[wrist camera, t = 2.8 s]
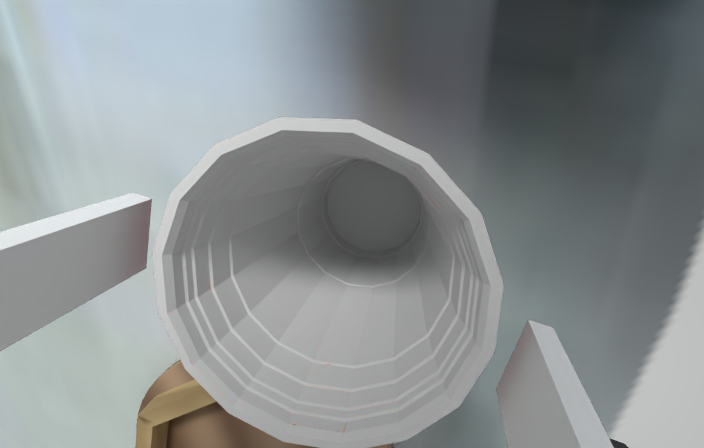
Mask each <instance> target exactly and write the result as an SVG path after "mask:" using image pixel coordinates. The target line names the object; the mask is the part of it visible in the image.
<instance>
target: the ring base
mask: <svg viewBox="0 0 704 448" xmlns="http://www.w3.org/2000/svg"><path fill="white" fill-rule="evenodd" d="M136 448H318V447H312V446H306V445H299V444H293V443H287V442H283V441H281V440H279V439H277V438H275V437H273V436H271V435H269V434H267V433H266V432H264V431H262V430H260V429H258V428H256V427H254V426H252V425H250V424H248V423H246V422H244V421H242V420H241V419H239V418H237V417H235V416H233V415H231V414H229V413H228V412H227V411H226V410H225V409H224V408H223V407H222V406H221V405H220V404H219V403H218V402H217V401H216V400H215V399H214V398H213V397H212V396H211V395H210V394H209V393H208V392H207V391H206V390H205V389H204V388H203V387H202V386H201V385H200V384H199V383H198V382H197V381H196V380H195V379H194V378H193V377H192V376H191V375H190V374H189V373H188V372H187V371H186V370H185V368H184V366H183V364H182V362H181V360H179V361H177V362H176V363H175V364H173V365H172V366H171V367H170V368H168V369H167V370H166V371H165V372H164V373H163V374H162V375H161V376H160V377H159V378H158V379H157V380H156V381H155V382H154V384H153V385H152V386H151V387H150V388H149V390H148V392H147V393H146V395H145V397H144V399H143V401H142V404H141V406H140V409H139V412H138V419H137V434H136ZM369 448H393V447H392V445H391V444H385V445H380V446H375V447H369Z"/></svg>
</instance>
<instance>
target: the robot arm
mask: <svg viewBox="0 0 704 448" xmlns="http://www.w3.org/2000/svg"><path fill="white" fill-rule="evenodd" d="M151 202H152V199H150V198H147V197H144V196H141V195H138V194H135V193H129V194H126V195H123V196H119V197H116V198H113V199H109V200H106V201H103V202H99V203H96V204H92V205H89V206H86V207H82V208H79V209H76V210H72V211H69V212H66V213H62V214H59V215H55V216H52V217H49V218H45V219H42V220H39V221H35V222H32V223H29V224H25V225H22V226H18V227H15V228H12V229H8V230H5V231H2V232H0V351H2V350H3V349H5V348H7V347H9V346H10V345H12V344H14V343H16V342H17V341H19V340H21V339H23V338H24V337H26V336H28V335H30V334H31V333H33V332H35V331H37V330H38V329H40V328H42V327H44V326H45V325H47V324H49V323H51V322H52V321H54V320H56V319H58V318H59V317H61V316H63V315H65V314H66V313H68V312H70V311H72V310H74V309H75V308H77V307H79V306H81V305H82V304H84V303H86V302H88V301H89V300H91V299H93V298H95V297H96V296H98V295H100V294H102V293H103V292H105V291H107V290H109V289H110V288H112V287H114V286H116V285H117V284H119V283H121V282H123V281H124V280H126V279H128V278H130V277H131V276H133V275H135V274H137V273H138V272H140V271H142V270H144V269H146V264H147V251H148V239H149V226H150V214H151ZM496 390H497V395H498V400H499V405H500V410H501V415H502V420H503V425H504V430H505V435H506V440H507V445H508V448H628V447H627V446H626V445H625V444H624V443H621V442H618V441H615V440H612V439H609V437H608V435H607V433H606V431H605V429H604V427H603V425H602V423H601V421H600V419H599V417H598V415H597V413H596V411H595V409H594V407H593V405H592V403H591V401H590V399H589V397H588V396H587V394H586V392H585V390H584V388H583V386H582V384H581V382H580V380H579V378H578V376H577V374H576V372H575V370H574V368H573V366H572V364H571V362H570V360H569V358H568V356H567V354H566V352H565V350H564V348H563V346H562V344H561V342H560V340H559V338H558V336H557V334H556V332H555V330H554V328H553V327H549V326H546V325H543V324H540V323H537V322H534V321H531V320H528V321H527V323H526V326H525V328H524V330H523V332H522V334H521V336H520V339H519V341H518V343H517V345H516V347H515V349H514V351H513V354H512V356H511V358H510V360H509V362H508V364H507V366H506V369H505V371H504V373H503V375H502V377H501V379H500V381H499V384H498V386H497V388H496Z"/></svg>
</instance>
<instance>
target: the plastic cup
mask: <svg viewBox="0 0 704 448" xmlns="http://www.w3.org/2000/svg"><path fill="white" fill-rule="evenodd" d="M152 257H153V267H154V278H155V288H156V299H157V309H158V315H159V317H160V319H161V321H162V323H163V325H164V327H165V329H166V331H167V333H168V335H169V337H170V339H171V342H172V344H173V346H174V348H175V350H176V352H177V354H178V356H179V358H180V360H181V362H182V364H183V366H184V368H185V370H186V371H187V372H188V373H189V374H190V375H191V376H192V377H193V378H194V379H195V380H196V381H197V382H198V383H199V384H200V385H201V386H202V387H203V388H204V389H205V390H206V391H207V392H208V393H209V394H210V395H211V396H212V397H213V398H214V399H215V400H216V401H217V402H218V403H219V404H220V405H221V406H222V407H223V408H224V409H225V410H226V411H227V412H228V413H229V414H231V415H233V416H235V417H237V418H239V419H241V420H242V421H244V422H246V423H248V424H250V425H252V426H254V427H256V428H258V429H260V430H262V431H264V432H266V433H267V434H269V435H271V436H273V437H275V438H277V439H279V440H281V441H283V442H287V443H293V444H299V445H306V446H312V447H318V448H369V447H375V446H380V445H385V444H391V443H396V442H402V441H406V440H408V439H410V438H411V437H413V436H414V435H416V434H418V433H419V432H421V431H422V430H424V429H425V428H427V427H429V426H430V425H432V424H433V423H435V422H437V421H438V420H440V419H441V418H443V417H444V416H446V415H448V414H449V413H451V412H452V411H454V410H455V409H457V408H459V407H460V405H461V404H462V402H463V401H464V399H465V398H466V396H467V394H468V393H469V391H470V390H471V388H472V387H473V385H474V384H475V382H476V381H477V379H478V378H479V376H480V375H481V373H482V372H483V370H484V369H485V367H486V366H487V364H488V363H489V361H490V360H491V358H492V357H493V355H494V354H495V347H496V340H497V333H498V325H499V318H500V311H501V303H502V296H503V289H504V283H503V280H502V277H501V273H500V270H499V267H498V264H497V261H496V258H495V254H494V251H493V248H492V245H491V242H490V239H489V235H488V232H487V229H486V226H485V223H484V220H483V216H482V213H481V212H480V211H479V210H478V209H477V208H476V206H475V205H474V204H473V203H472V202H471V201H470V200H469V199H468V197H467V196H466V195H465V194H464V193H463V192H462V191H461V190H460V188H459V187H458V186H457V185H456V184H455V183H454V182H453V180H452V179H451V178H450V177H449V176H448V175H447V174H446V173H445V171H444V170H443V169H442V168H441V167H440V166H439V165H438V164H437V162H436V161H435V160H434V159H433V158H432V157H431V156H430V154H428V153H426V152H424V151H422V150H420V149H418V148H416V147H413V146H411V145H409V144H407V143H405V142H403V141H401V140H399V139H397V138H394V137H392V136H390V135H388V134H386V133H384V132H382V131H380V130H378V129H375V128H373V127H371V126H369V125H367V124H365V123H363V122H361V121H359V120H356V119H327V118H296V117H278V118H276V119H274V120H271V121H269V122H266V123H264V124H262V125H259V126H257V127H254V128H252V129H250V130H247V131H245V132H242V133H240V134H238V135H235V136H233V137H230V138H228V139H226V140H223V141H221V142H219V143H216V144H214V145H213V146H212V147H211V149H210V150H209V151H208V152H207V153H206V154H205V155H204V156H203V157H202V159H201V160H200V161H199V162H198V163H197V164H196V165H195V166H194V167H193V169H192V170H191V171H190V172H189V173H188V174H187V175H186V176H185V177H184V179H183V180H182V181H181V182H180V183H179V184H178V185H177V186H176V187H175V189H174V190H173V191H172V192H171V193H170V196H169V200H168V203H167V206H166V209H165V212H164V216H163V219H162V222H161V225H160V229H159V232H158V235H157V238H156V241H155V245H154V248H153V251H152Z"/></svg>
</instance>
